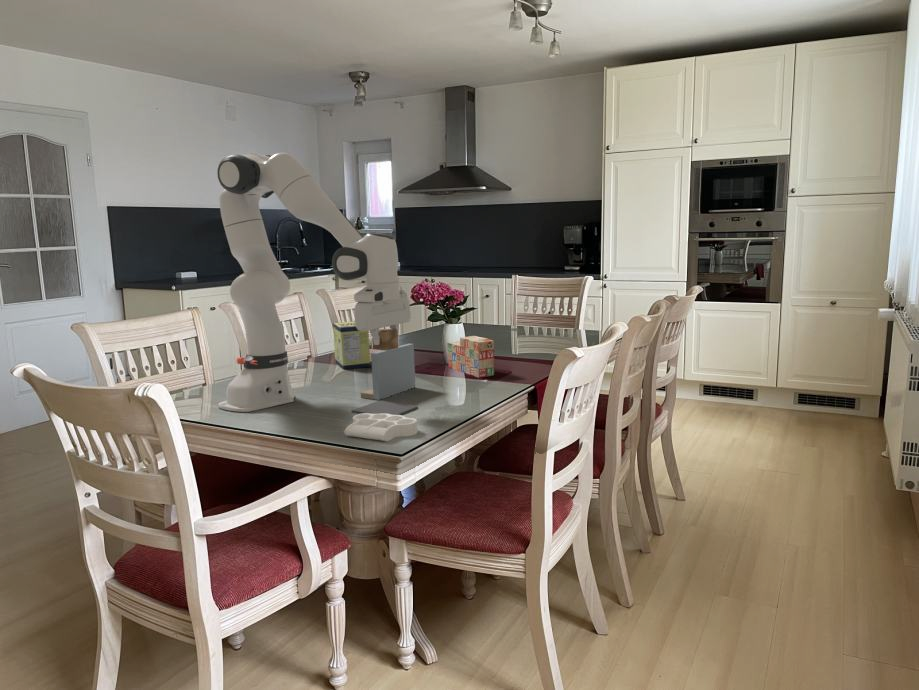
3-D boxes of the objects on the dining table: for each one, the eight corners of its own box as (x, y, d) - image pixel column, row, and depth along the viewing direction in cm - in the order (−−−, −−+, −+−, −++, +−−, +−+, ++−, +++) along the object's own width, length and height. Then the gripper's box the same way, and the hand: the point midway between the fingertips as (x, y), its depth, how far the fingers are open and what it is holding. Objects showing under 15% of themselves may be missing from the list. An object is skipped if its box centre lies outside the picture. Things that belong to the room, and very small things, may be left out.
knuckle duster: (334, 437, 166) (368, 421, 178) (396, 446, 157) (427, 429, 170) (333, 424, 165) (367, 409, 178) (395, 432, 157) (427, 416, 170)
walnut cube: (387, 350, 183) (386, 331, 182) (372, 349, 185) (372, 330, 184) (398, 347, 187) (397, 329, 186) (384, 346, 189) (383, 328, 189)
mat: (390, 418, 179) (390, 416, 179) (351, 412, 186) (351, 410, 186) (418, 408, 189) (417, 406, 188) (379, 402, 196) (379, 400, 196)
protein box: (361, 359, 262) (359, 320, 260) (371, 367, 248) (368, 325, 245) (334, 362, 259) (332, 322, 256) (343, 370, 244) (340, 327, 242)
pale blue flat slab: (378, 400, 199) (376, 353, 196) (360, 397, 203) (358, 351, 200) (415, 387, 214) (413, 343, 211) (398, 385, 217) (396, 342, 215)
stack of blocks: (447, 367, 243) (446, 334, 241) (462, 365, 246) (461, 332, 244) (479, 378, 225) (478, 341, 223) (494, 375, 228) (494, 339, 226)
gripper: (397, 289, 194) (399, 336, 196) (349, 295, 177) (352, 347, 179) (415, 289, 190) (416, 337, 193) (367, 296, 173) (370, 349, 176)
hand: (385, 342), depth 186 cm, fingers closed on walnut cube, 5 cm apart
